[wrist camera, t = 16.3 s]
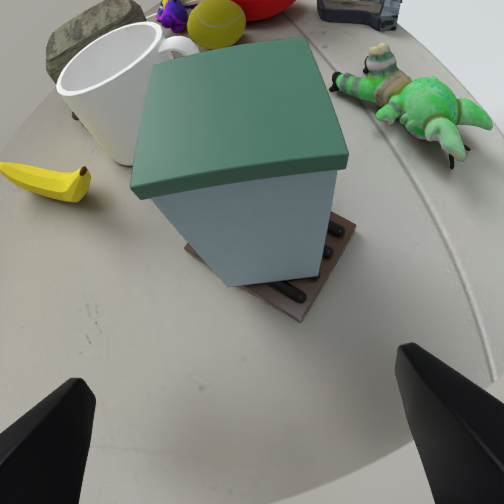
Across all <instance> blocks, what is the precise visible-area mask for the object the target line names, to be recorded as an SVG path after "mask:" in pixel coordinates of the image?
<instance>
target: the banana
mask: <svg viewBox="0 0 504 504" xmlns="http://www.w3.org/2000/svg"><path fill="white" fill-rule="evenodd" d="M0 172H1V173H2V174H3V175H4V176H5V177H6V178H7V179H8V180H10V181H11V182H12V183H14V184H15V185H17V186H19V187H21V188H23V189H26V190H28V191H31V192H33V193H36V194H39V195H42V196H46V197H49V198H53V199H57V200H62V201H67V202H78V201H80V200H81V199H82V197H83V196H84V195H85V194H86V193H87V192H88V189H89V185H90V181H91V175H90V173H89V171H88V169H87V168H86V167H82V168H80V169H79V170H78V171H76V172H74V173H64V172H57V171H51V170H46V169H42V168H37V167H33V166H28V165H23V164H17V163H6V162H0Z"/></svg>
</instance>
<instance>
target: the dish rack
mask: <svg viewBox="0 0 504 504" xmlns="http://www.w3.org/2000/svg"><path fill="white" fill-rule="evenodd" d="M355 228H356V224H354V223H352V222H350V221H348V220H346V219H345V218H343V217H341V216H339V215H337V214H335V213H333V212H330V217H329V223H328V228H327V233H326V238H325V244H324V249H323V254H322V259H321V263H320V268H319V273H318V276H314V277H306V278H298V279H290V280H282V281H274V282H266V283H257V284H249V285H240V286H241V287H243V288H244V289H246V290H247V291H249V292H251V293H252V294H254V295H256V296H257V297H259V298H260V299H262V300H264V301H265V302H267V303H268V304H270V305H272V306H273V307H275V308H277V309H278V310H280V311H282V312H283V313H285V314H287V315H288V316H290V317H291V318H293V319H295V320H296V321H298V322H301V321H302V320H303V318H304V316H305V315H306V313H307V312H308V310H309V308H310V307H311V305H312V303H313V302H314V300H315V298H316V297H317V295H318V293H319V292H320V290H321V288H322V287H323V285H324V283H325V282H326V280H327V278H328V277H329V275H330V273H331V271H332V270H333V268H334V266H335V264H336V263H337V261H338V259H339V257H340V256H341V254H342V252H343V250H344V249H345V247H346V245H347V243H348V241H349V240H350V238H351V236H352V234H353V232H354V230H355ZM184 249H185V250H186V251H187V252H188V253H189V254H191V255H192V256H194V257H195V258H197V259H198V260H200V261H202V262H203V263H205V264H206V262H205V261H204V260H203V259H202V258H201V257H200V256H199V254H198V253H197V252H196V251H195V250H194V249H193V248H192V246H191V245H190V244H189V243H187V244H186V246H185V247H184ZM206 265H207V264H206Z"/></svg>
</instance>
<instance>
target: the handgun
mask: <svg viewBox="0 0 504 504" xmlns="http://www.w3.org/2000/svg"><path fill="white" fill-rule="evenodd" d="M400 3H402V0H317V9H318V12H319V15H320V17H321V19H323V18H324V19H325V20H327V21H330V22H354V23H365V24H369V25H371V26H373V27H374V28H376V29H379V30H380V31H382V30H391V29H396V24H397V19H398V14H399V7H400Z"/></svg>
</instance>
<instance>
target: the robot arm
mask: <svg viewBox="0 0 504 504" xmlns="http://www.w3.org/2000/svg"><path fill="white" fill-rule="evenodd" d="M395 374H396V378H397V382H398V386H399V389H400V393H401V397H402V401H403V405H404V409H405V413H406V417H407V421H408V424H409V427H410V430H411V433H412V435H413V438H414V441H415V444H416V447H417V449H418V452H419V455H420V458H421V461H422V463H423V467H424V470H425V473H426V476H427V479H428V481H429V485H430V488H431V491H432V495H433V498H434V501H435V504H504V404H503V403H502V402H501V401H499V400H498V399H497V398H495V397H494V396H492V395H491V394H489V393H488V392H486V391H485V390H483V389H482V388H481V387H479V386H478V385H476V384H475V383H473V382H472V381H470V380H469V379H467V378H466V377H464V376H463V375H462V374H460V373H459V372H457V371H456V370H454V369H453V368H451V367H450V366H448V365H447V364H445V363H444V362H442V361H441V360H439V359H438V358H436V357H435V356H433V355H432V354H430V353H429V352H428V351H426V350H425V349H423V348H422V347H420V346H419V345H417V344H416V343H413V342H411V343H407V344H403V345H400V346H399V347H398V350H397V357H396V364H395ZM95 406H96V398H95V395H94V394H93V392H92V391H91V389H90V388H89V387H88V385H87V384H86V382H85V381H84V380H83V379H82V378H70V379H68V380H67V381H66V382H65V383H63V384H62V385H61V386H60V387H58V388H57V389H56V390H54V391H53V392H52V393H51V394H49V395H48V396H47V397H46V398H44V399H43V400H42V401H41V402H39V403H38V404H37V405H36V406H34V407H33V408H32V409H31V410H29V411H28V412H27V413H26V414H24V415H23V416H22V417H21V418H19V419H18V420H17V421H16V422H14V423H13V424H12V425H11V426H9V427H8V428H7V429H6V430H4V431H3V432H2V433H1V434H0V504H79V498H80V493H81V487H82V481H83V476H84V471H85V466H86V461H87V457H88V452H89V447H90V442H91V435H92V427H93V419H94V412H95Z"/></svg>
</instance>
